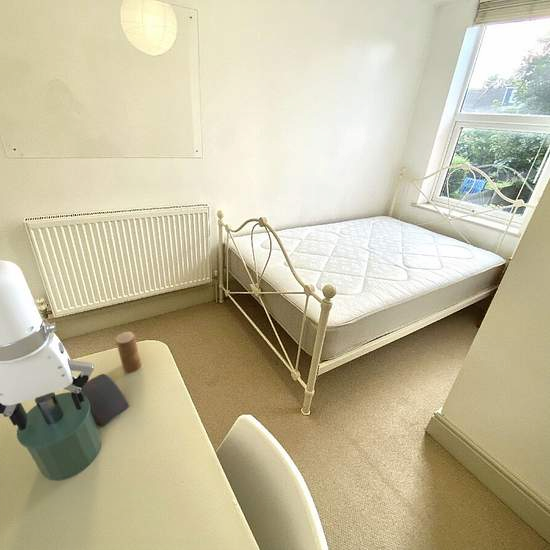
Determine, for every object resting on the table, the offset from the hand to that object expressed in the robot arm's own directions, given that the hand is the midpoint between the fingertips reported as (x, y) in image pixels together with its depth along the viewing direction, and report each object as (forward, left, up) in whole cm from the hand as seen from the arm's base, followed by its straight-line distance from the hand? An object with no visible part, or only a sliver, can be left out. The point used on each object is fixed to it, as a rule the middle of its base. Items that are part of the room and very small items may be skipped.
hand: (52, 413), depth 56 cm
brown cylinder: (+14, +19, -12) cm, 27 cm away
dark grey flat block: (+6, +11, -12) cm, 17 cm away
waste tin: (0, 0, -12) cm, 12 cm away
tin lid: (0, 0, -2) cm, 2 cm away
